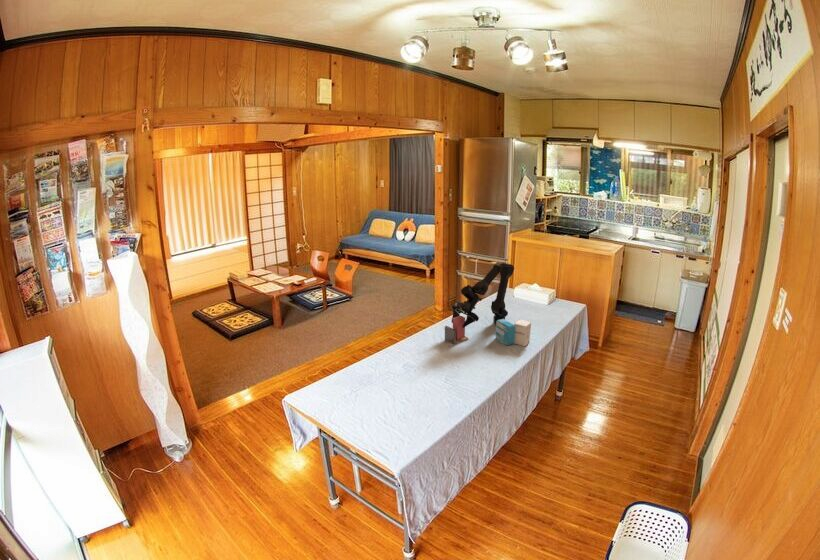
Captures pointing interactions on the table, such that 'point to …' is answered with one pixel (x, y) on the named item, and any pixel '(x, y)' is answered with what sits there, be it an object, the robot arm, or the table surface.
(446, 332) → the metal bookend
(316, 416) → the table surface
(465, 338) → the tan flat rectangular slab
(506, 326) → the data package
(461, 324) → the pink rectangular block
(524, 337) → the supplement box
